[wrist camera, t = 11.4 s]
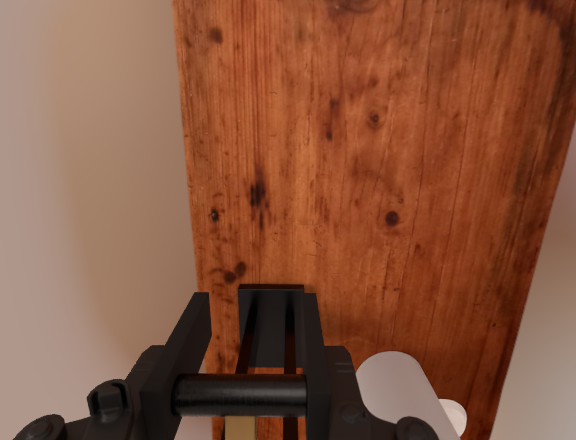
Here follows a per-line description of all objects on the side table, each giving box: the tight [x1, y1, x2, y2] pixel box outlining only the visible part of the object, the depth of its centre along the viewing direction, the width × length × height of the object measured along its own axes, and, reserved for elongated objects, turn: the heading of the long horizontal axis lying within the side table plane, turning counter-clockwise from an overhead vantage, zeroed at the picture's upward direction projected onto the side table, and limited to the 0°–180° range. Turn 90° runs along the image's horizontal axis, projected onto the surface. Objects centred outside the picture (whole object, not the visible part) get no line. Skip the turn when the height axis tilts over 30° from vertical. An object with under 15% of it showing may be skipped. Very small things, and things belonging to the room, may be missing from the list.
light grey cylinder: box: [356, 351, 460, 440], centre depth 32 cm, size 8×8×12 cm
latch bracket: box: [221, 284, 304, 440], centre depth 23 cm, size 10×7×26 cm
